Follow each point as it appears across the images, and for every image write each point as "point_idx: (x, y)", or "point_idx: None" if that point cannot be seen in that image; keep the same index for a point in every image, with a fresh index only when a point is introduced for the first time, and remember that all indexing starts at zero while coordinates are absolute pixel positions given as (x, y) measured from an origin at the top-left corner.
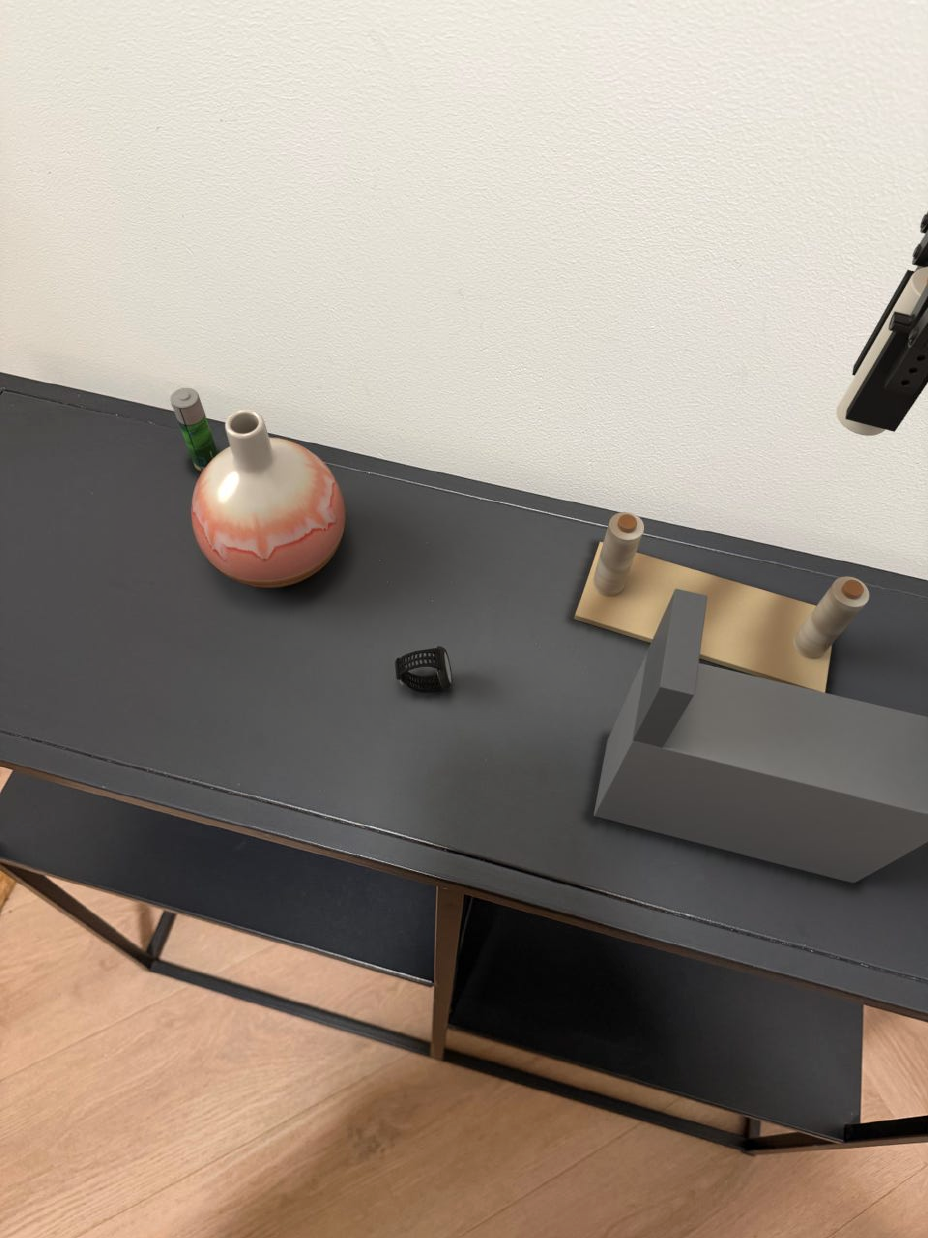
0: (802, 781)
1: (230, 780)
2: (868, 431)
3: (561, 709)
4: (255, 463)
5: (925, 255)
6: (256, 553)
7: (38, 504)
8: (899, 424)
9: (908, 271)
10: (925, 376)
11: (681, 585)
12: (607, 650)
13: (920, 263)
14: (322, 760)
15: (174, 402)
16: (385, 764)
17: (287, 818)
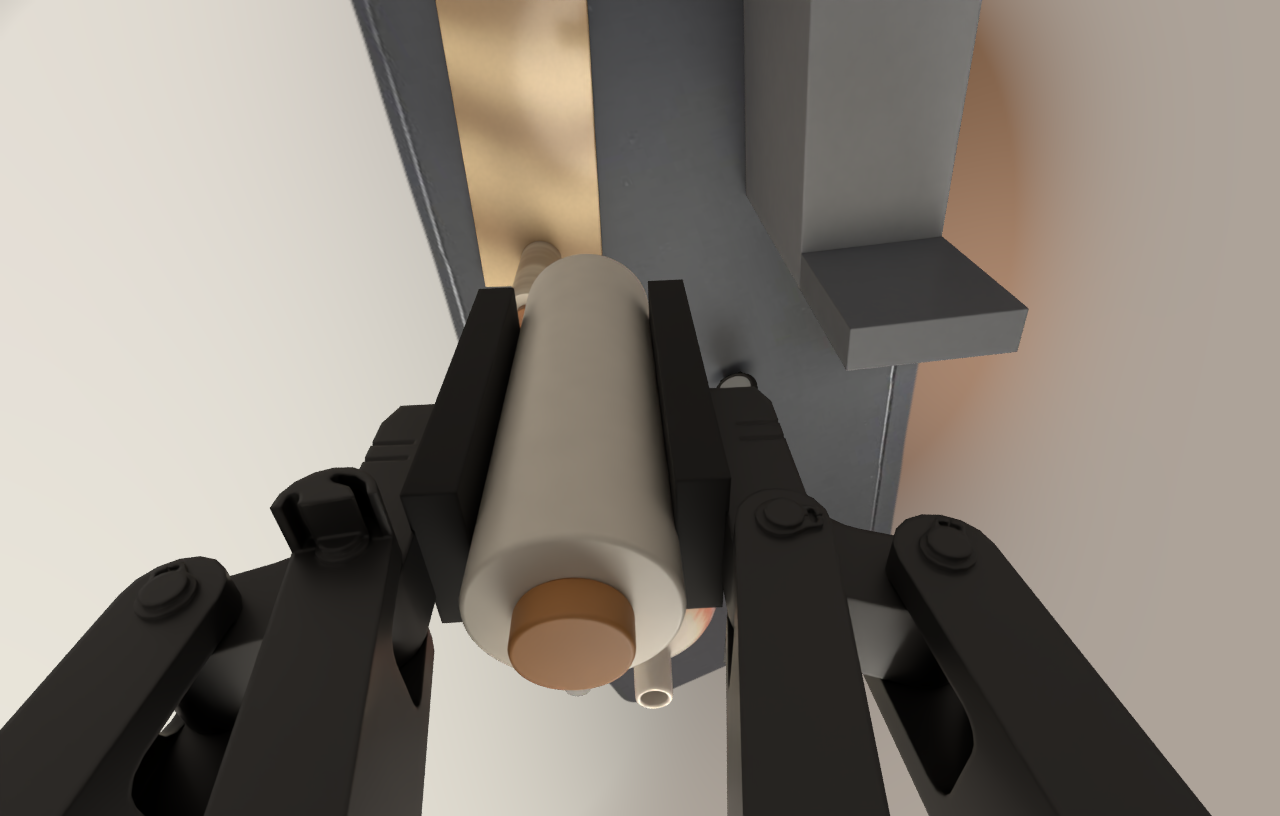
0: (976, 25)
1: (869, 482)
2: (647, 301)
3: (723, 256)
4: (667, 657)
5: (427, 664)
6: None
7: (673, 674)
8: (683, 290)
9: (449, 619)
10: (778, 433)
11: (498, 169)
12: (629, 229)
13: (429, 632)
14: (837, 433)
15: (587, 691)
16: (829, 387)
17: (894, 435)
